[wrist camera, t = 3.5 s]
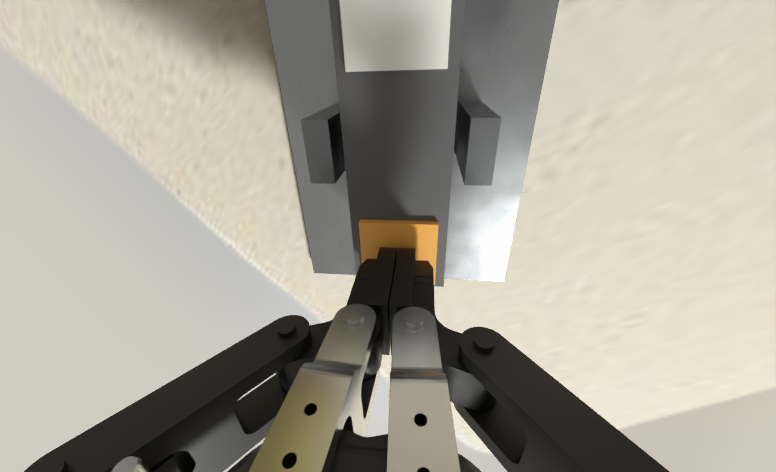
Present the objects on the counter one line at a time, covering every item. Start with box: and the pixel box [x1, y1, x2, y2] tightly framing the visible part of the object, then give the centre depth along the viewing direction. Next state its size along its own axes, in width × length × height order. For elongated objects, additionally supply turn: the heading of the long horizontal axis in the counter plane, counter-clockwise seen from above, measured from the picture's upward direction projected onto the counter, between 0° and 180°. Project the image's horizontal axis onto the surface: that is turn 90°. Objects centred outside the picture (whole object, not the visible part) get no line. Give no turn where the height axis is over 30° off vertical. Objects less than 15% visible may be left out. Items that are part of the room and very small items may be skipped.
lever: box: [329, 0, 465, 287], centre depth 12 cm, size 12×4×2 cm, turn 2°
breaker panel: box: [264, 0, 559, 282], centre depth 14 cm, size 18×12×5 cm, turn 2°
